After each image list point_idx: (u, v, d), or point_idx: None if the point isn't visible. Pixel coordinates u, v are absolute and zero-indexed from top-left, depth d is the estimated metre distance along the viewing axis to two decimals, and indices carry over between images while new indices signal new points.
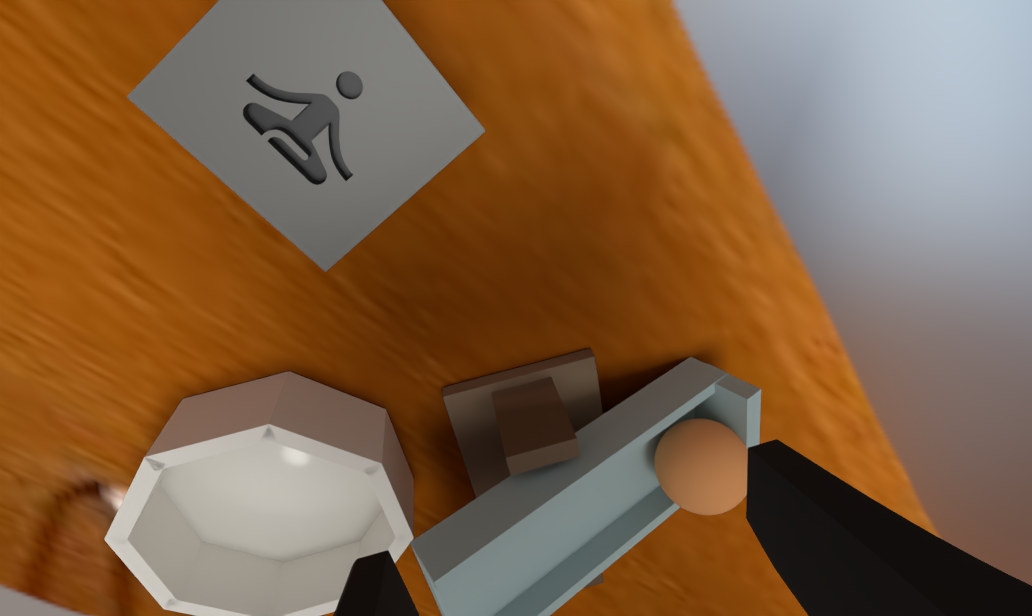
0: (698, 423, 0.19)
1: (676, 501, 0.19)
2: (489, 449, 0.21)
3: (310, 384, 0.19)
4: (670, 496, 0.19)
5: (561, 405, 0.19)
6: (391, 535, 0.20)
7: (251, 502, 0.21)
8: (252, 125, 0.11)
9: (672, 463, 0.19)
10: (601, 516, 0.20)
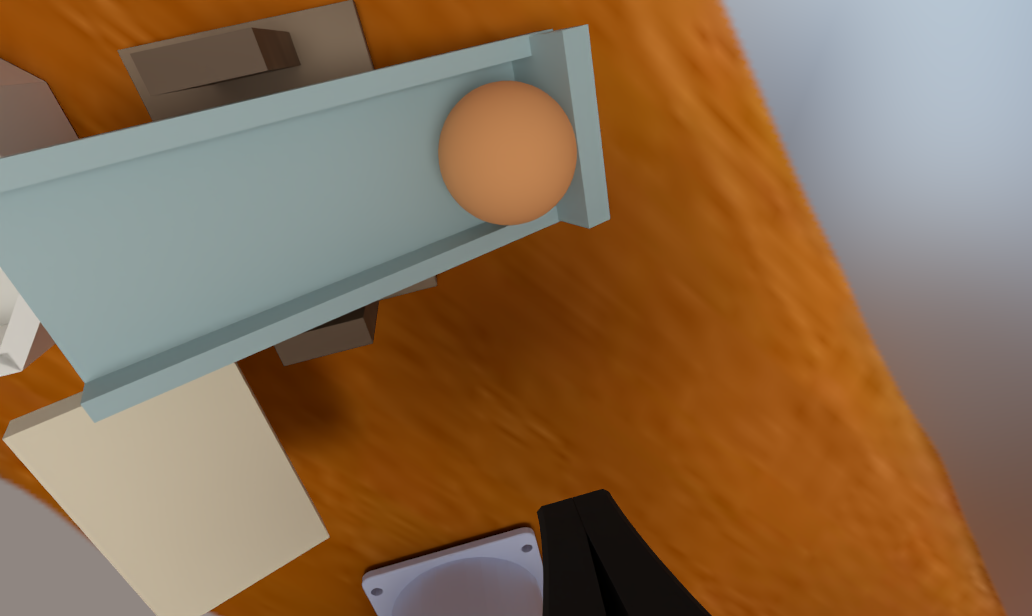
0: None
1: (459, 195, 0.13)
2: None
3: None
4: (452, 191, 0.13)
5: (269, 29, 0.12)
6: None
7: None
8: None
9: (447, 128, 0.12)
10: (364, 239, 0.14)
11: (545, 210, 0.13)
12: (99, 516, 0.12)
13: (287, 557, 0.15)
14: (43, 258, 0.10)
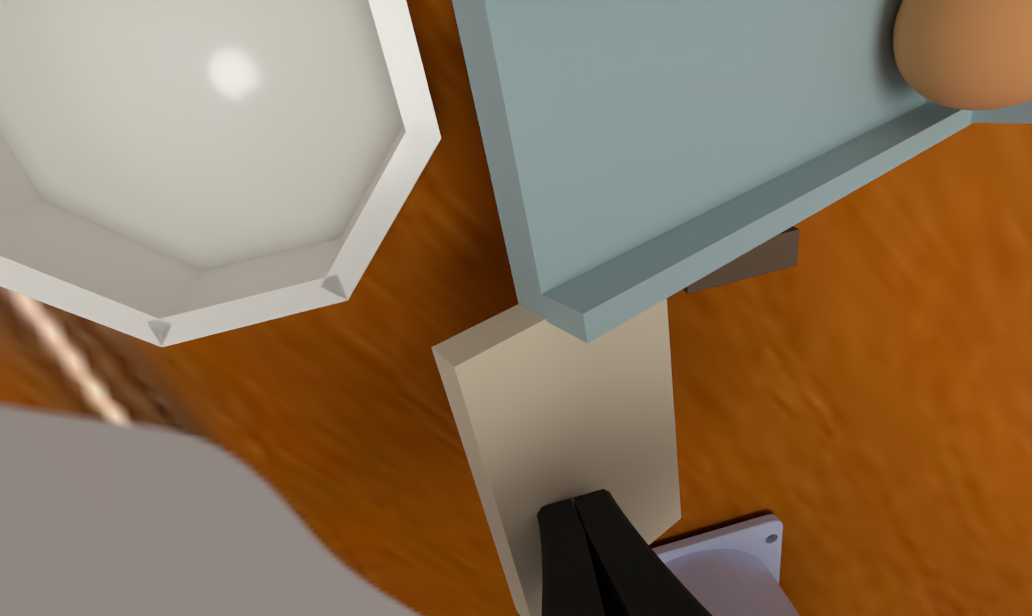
0: None
1: (972, 57, 0.10)
2: None
3: None
4: (955, 54, 0.10)
5: None
6: (395, 147, 0.10)
7: (131, 113, 0.11)
8: None
9: None
10: (798, 128, 0.11)
11: None
12: (513, 482, 0.09)
13: None
14: (544, 102, 0.07)
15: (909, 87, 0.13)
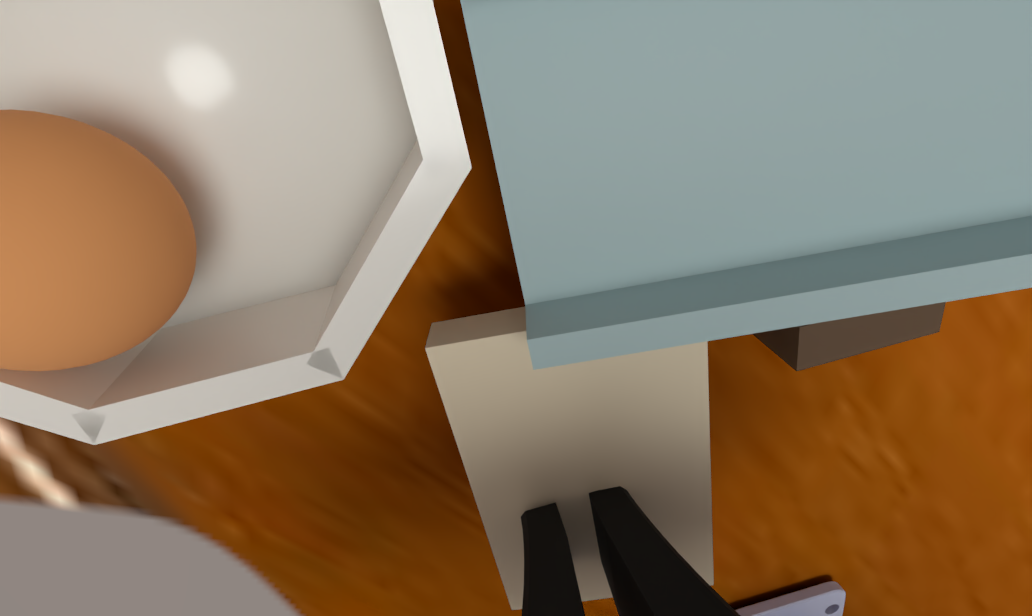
0: None
1: (166, 260, 0.07)
2: None
3: None
4: (150, 256, 0.07)
5: None
6: (408, 178, 0.07)
7: None
8: None
9: (100, 149, 0.07)
10: (1008, 166, 0.07)
11: None
12: (487, 467, 0.09)
13: None
14: (535, 110, 0.07)
15: None
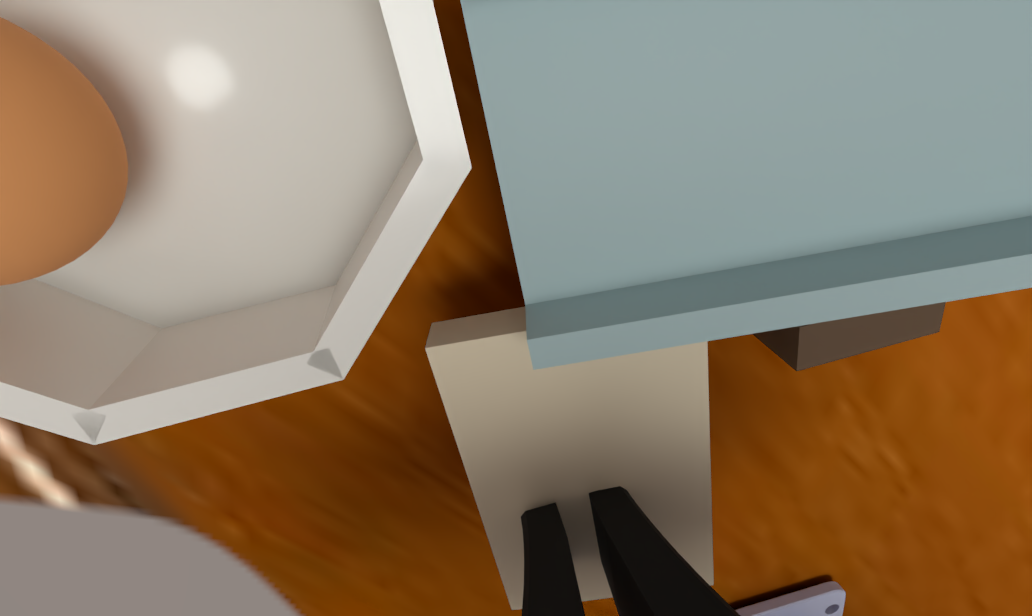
0: None
1: (13, 107, 0.06)
2: None
3: None
4: None
5: None
6: (408, 178, 0.07)
7: None
8: None
9: (28, 32, 0.07)
10: (1008, 166, 0.07)
11: (17, 276, 0.07)
12: (487, 467, 0.09)
13: None
14: (535, 110, 0.07)
15: None
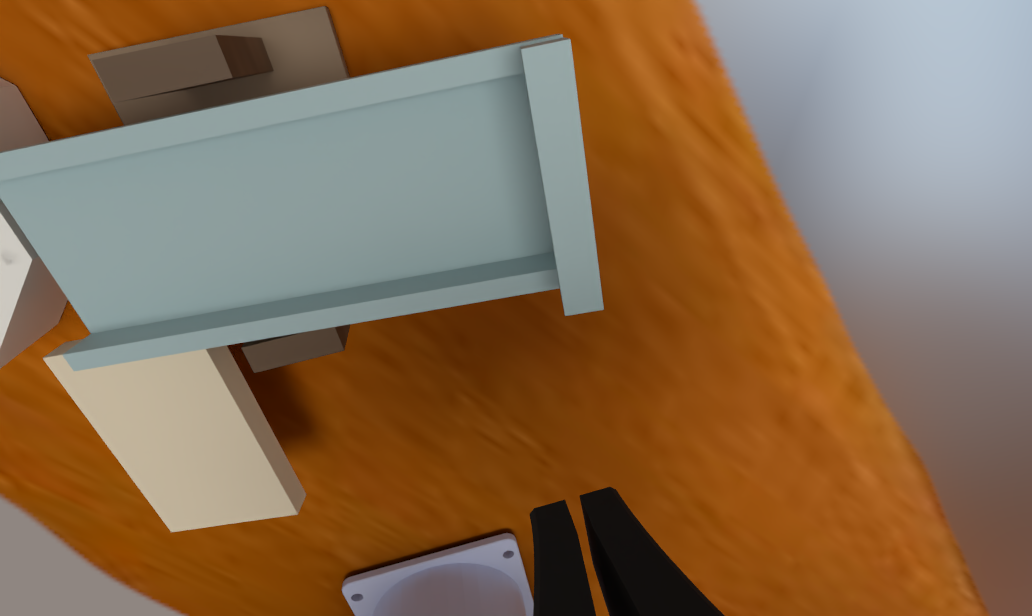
0: None
1: None
2: None
3: None
4: None
5: (238, 36, 0.12)
6: (8, 262, 0.13)
7: None
8: None
9: None
10: (325, 261, 0.13)
11: None
12: (111, 431, 0.15)
13: (260, 515, 0.17)
14: (51, 232, 0.12)
15: (509, 236, 0.12)
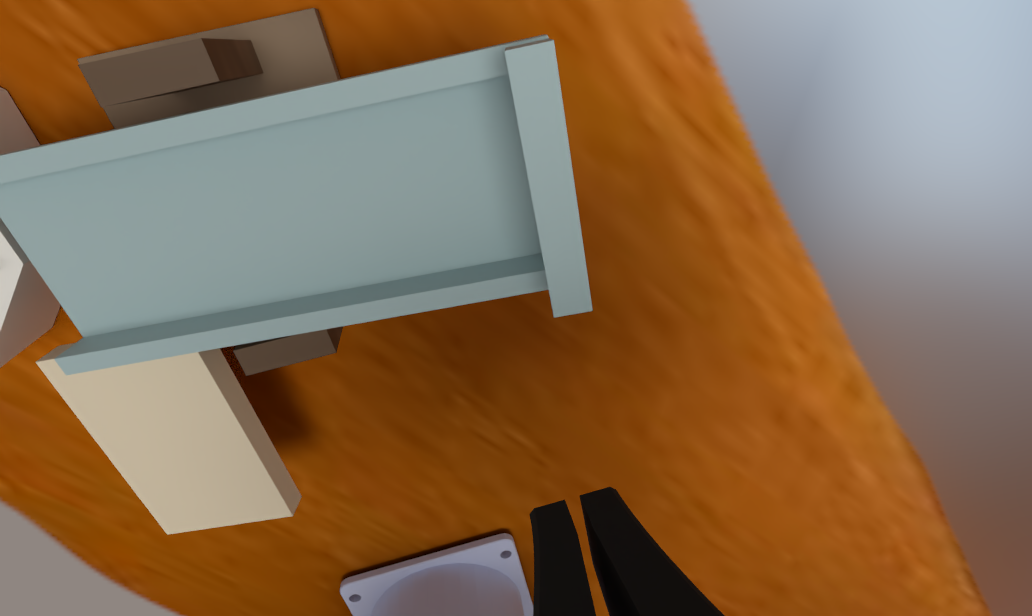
0: None
1: None
2: None
3: None
4: None
5: (226, 39, 0.12)
6: None
7: None
8: None
9: None
10: (315, 264, 0.13)
11: None
12: (105, 434, 0.15)
13: (255, 517, 0.17)
14: (42, 237, 0.12)
15: (499, 237, 0.12)
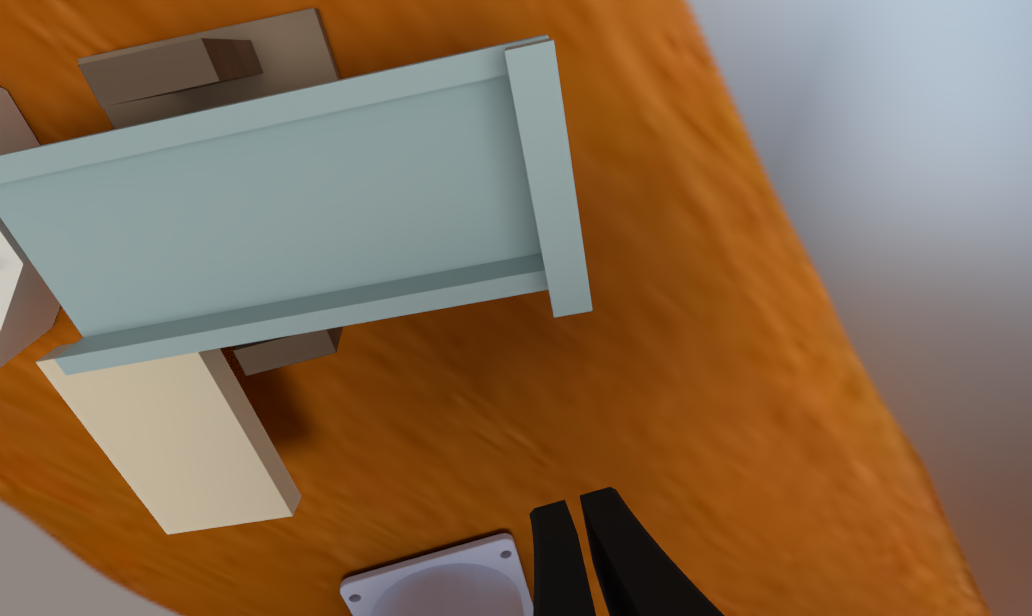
0: None
1: None
2: None
3: None
4: None
5: (226, 39, 0.12)
6: None
7: None
8: None
9: None
10: (315, 264, 0.13)
11: None
12: (105, 434, 0.15)
13: (255, 517, 0.17)
14: (42, 237, 0.12)
15: (499, 237, 0.12)
